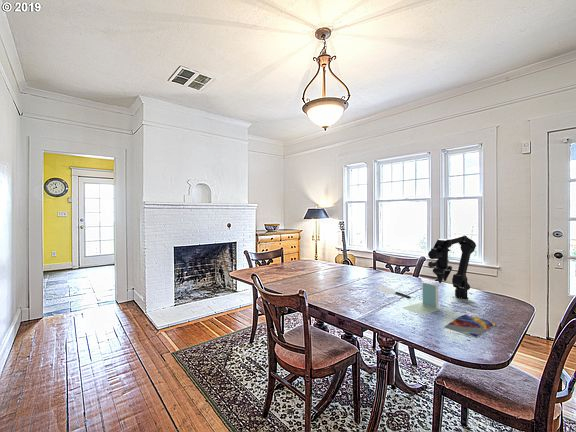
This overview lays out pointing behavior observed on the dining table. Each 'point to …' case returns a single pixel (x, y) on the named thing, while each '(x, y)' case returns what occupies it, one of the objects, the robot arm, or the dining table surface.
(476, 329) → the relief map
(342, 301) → the dining table surface
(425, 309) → the sage rubber mat
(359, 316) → the dining table surface
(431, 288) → the standing glazed tile
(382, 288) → the kitchen cleaver
